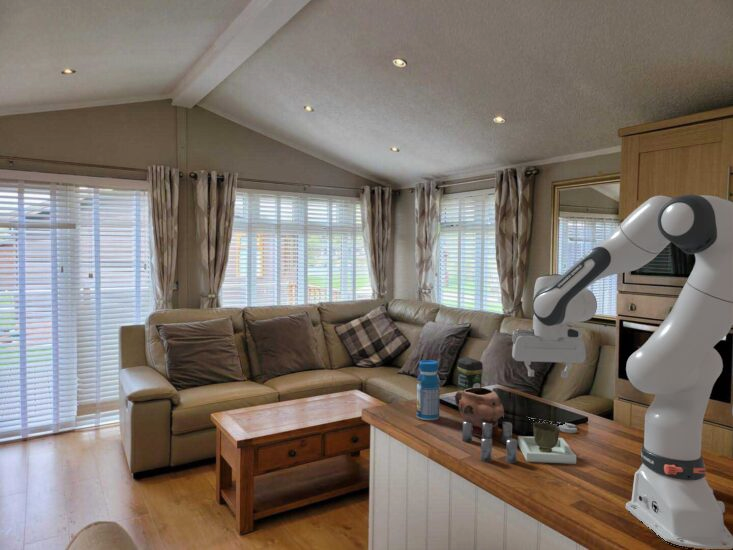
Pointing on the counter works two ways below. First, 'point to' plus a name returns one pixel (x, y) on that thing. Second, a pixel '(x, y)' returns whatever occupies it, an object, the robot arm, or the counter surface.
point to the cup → (546, 435)
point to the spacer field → (487, 440)
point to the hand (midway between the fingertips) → (547, 376)
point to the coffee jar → (469, 374)
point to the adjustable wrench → (566, 427)
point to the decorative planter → (480, 408)
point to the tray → (558, 454)
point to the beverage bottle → (428, 390)
